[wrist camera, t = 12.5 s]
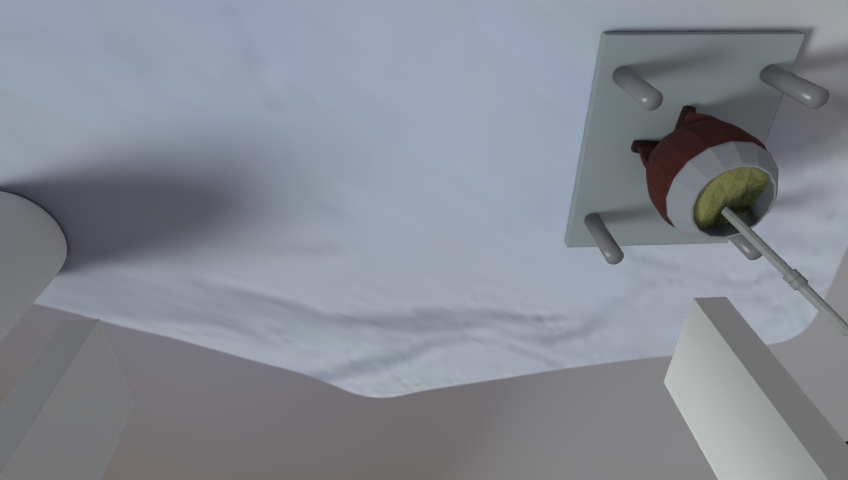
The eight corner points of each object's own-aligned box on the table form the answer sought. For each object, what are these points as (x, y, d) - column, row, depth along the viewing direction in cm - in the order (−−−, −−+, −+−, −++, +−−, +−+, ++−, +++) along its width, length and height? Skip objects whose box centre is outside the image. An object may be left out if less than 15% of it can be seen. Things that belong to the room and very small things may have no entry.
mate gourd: (641, 96, 37) (774, 208, 24) (751, 104, 38) (934, 217, 25) (610, 194, 41) (711, 334, 28) (710, 200, 42) (850, 338, 29)
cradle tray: (601, 32, 35) (637, 56, 30) (797, 31, 36) (861, 55, 31) (564, 241, 44) (587, 286, 39) (722, 237, 45) (763, 280, 40)
